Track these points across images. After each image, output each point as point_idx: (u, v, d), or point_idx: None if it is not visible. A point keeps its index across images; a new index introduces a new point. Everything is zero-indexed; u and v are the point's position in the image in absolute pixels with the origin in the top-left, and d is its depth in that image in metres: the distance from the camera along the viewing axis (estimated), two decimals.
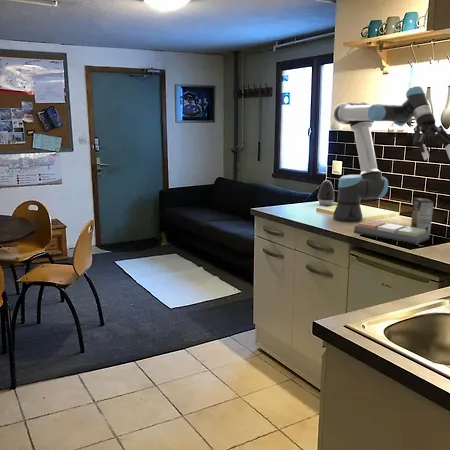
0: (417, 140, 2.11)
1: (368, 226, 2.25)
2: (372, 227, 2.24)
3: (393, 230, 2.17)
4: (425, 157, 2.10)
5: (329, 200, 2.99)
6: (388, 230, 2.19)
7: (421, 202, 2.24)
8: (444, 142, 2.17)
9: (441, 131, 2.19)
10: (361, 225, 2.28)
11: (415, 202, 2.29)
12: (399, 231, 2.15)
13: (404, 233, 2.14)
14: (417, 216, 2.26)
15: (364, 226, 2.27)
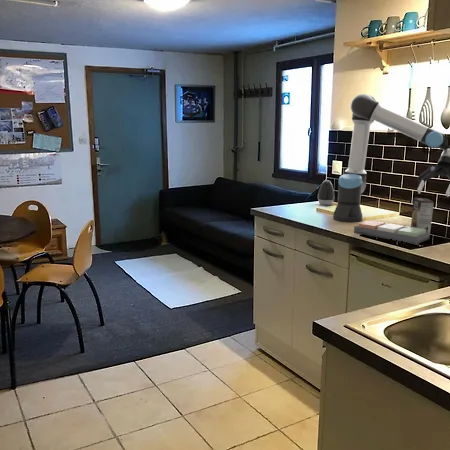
0: None
1: (368, 226, 2.25)
2: (372, 227, 2.24)
3: (393, 230, 2.17)
4: (448, 193, 2.30)
5: (329, 200, 2.99)
6: (388, 230, 2.19)
7: (421, 202, 2.24)
8: (426, 178, 2.41)
9: (430, 171, 2.44)
10: (361, 225, 2.28)
11: (415, 202, 2.29)
12: (399, 231, 2.15)
13: (404, 233, 2.14)
14: (417, 216, 2.26)
15: (364, 226, 2.27)
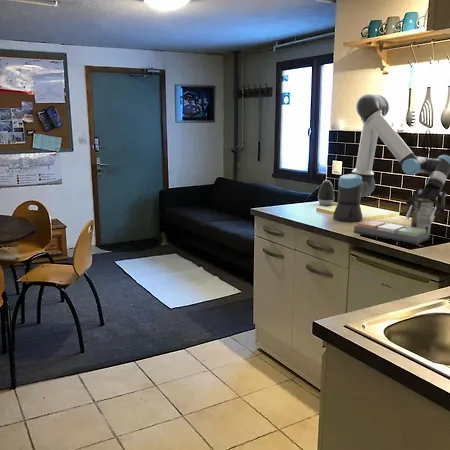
0: None
1: (368, 226, 2.25)
2: (372, 227, 2.24)
3: (393, 230, 2.17)
4: (432, 219, 2.24)
5: (329, 200, 2.99)
6: (388, 230, 2.19)
7: (421, 202, 2.24)
8: None
9: (418, 195, 2.37)
10: (361, 225, 2.28)
11: (415, 202, 2.29)
12: (399, 231, 2.15)
13: (404, 233, 2.14)
14: (417, 216, 2.26)
15: (364, 226, 2.27)
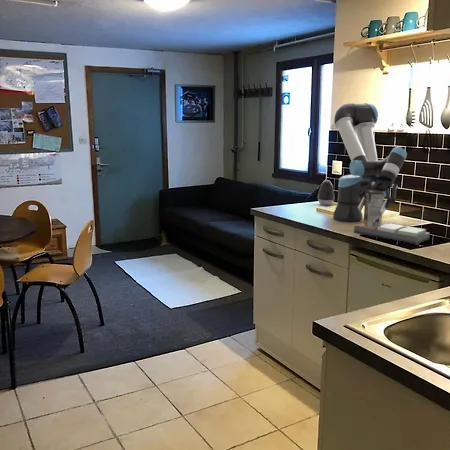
0: None
1: None
2: None
3: (393, 230, 2.17)
4: (382, 211, 2.23)
5: (329, 200, 2.99)
6: (388, 230, 2.19)
7: (371, 194, 2.22)
8: None
9: (371, 187, 2.36)
10: None
11: (367, 194, 2.28)
12: (399, 231, 2.15)
13: (404, 233, 2.14)
14: (368, 208, 2.25)
15: None
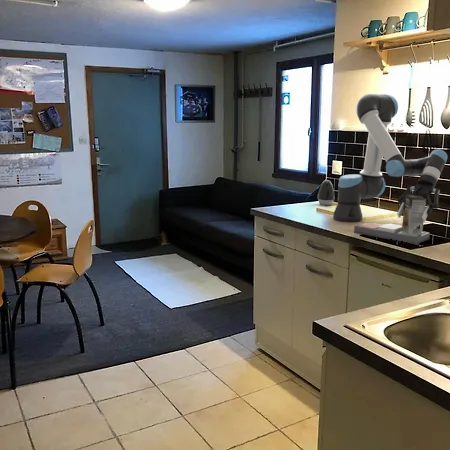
0: None
1: None
2: None
3: (393, 230, 2.17)
4: (424, 218, 2.10)
5: (329, 200, 2.99)
6: (388, 230, 2.19)
7: (413, 199, 2.10)
8: None
9: (410, 191, 2.23)
10: None
11: (407, 200, 2.15)
12: None
13: None
14: (408, 214, 2.12)
15: None
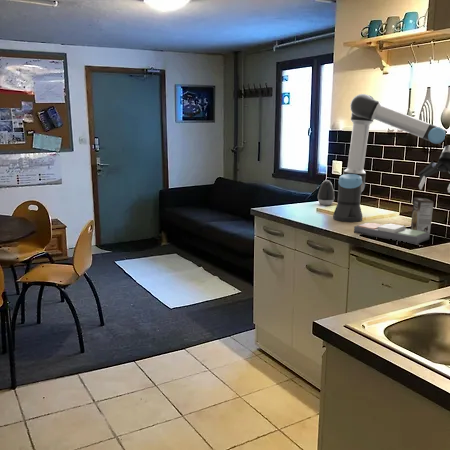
0: None
1: None
2: None
3: (393, 230, 2.17)
4: (449, 189, 2.31)
5: (329, 200, 2.99)
6: (388, 230, 2.19)
7: (421, 202, 2.24)
8: (427, 174, 2.42)
9: (431, 167, 2.44)
10: None
11: (415, 202, 2.29)
12: None
13: None
14: (417, 216, 2.26)
15: None
